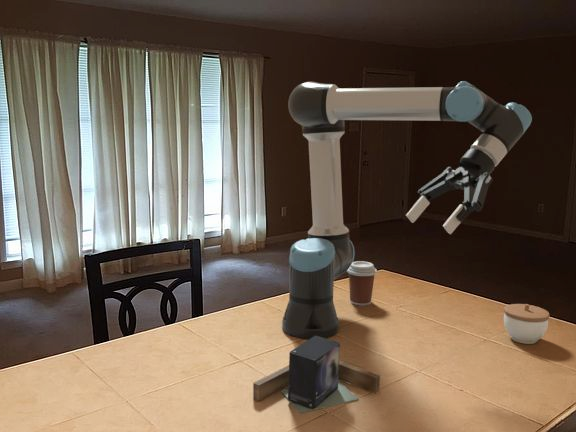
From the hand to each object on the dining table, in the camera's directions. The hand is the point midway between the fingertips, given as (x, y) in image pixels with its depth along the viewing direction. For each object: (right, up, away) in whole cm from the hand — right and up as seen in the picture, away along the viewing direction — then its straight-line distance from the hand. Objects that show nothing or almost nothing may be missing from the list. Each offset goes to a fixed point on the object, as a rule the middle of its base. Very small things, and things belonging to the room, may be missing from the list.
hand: (427, 224), depth 128 cm
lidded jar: (+29, -30, +15) cm, 44 cm away
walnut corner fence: (-26, -35, -15) cm, 46 cm away
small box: (-27, -35, -16) cm, 47 cm away
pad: (-26, -35, -15) cm, 46 cm away
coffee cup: (-10, -25, +42) cm, 49 cm away
